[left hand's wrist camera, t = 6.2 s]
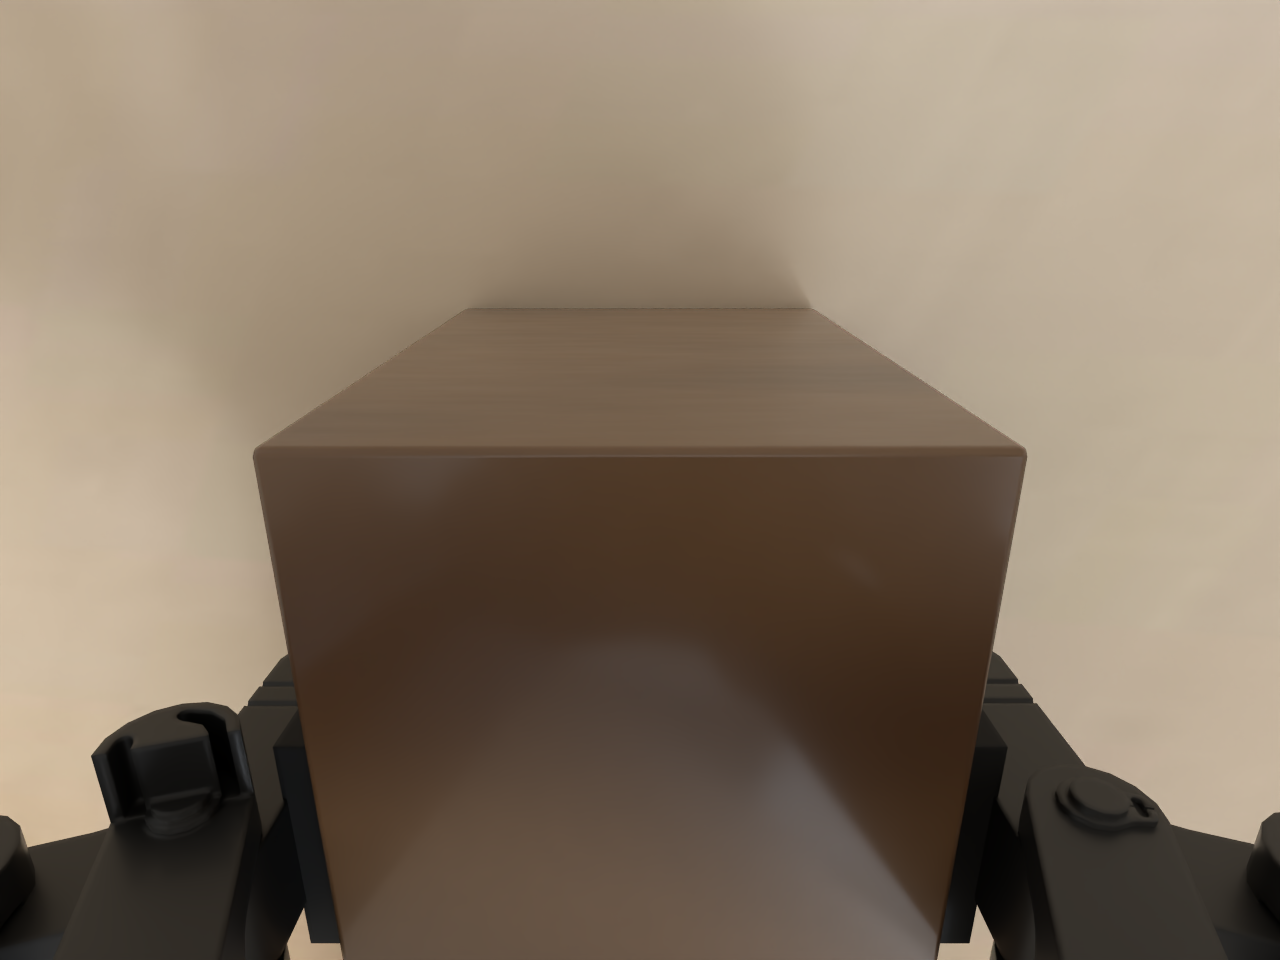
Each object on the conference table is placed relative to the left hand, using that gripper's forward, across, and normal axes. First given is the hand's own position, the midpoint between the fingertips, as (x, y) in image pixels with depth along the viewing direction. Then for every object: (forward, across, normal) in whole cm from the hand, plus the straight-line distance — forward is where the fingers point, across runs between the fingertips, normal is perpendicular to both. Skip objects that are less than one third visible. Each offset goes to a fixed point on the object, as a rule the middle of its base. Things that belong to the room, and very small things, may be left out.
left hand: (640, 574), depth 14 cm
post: (0, 0, -34) cm, 34 cm away
